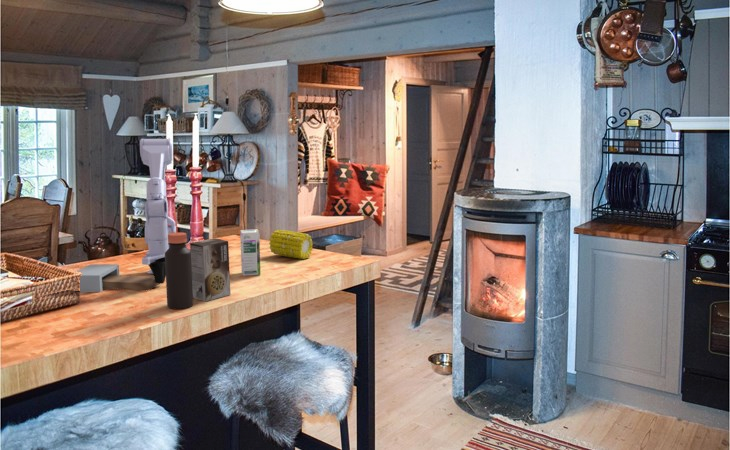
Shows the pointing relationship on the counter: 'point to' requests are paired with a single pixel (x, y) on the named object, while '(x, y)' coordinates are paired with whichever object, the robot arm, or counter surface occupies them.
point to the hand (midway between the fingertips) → (160, 282)
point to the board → (129, 282)
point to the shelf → (96, 276)
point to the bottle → (178, 272)
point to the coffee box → (210, 269)
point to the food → (291, 244)
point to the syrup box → (250, 252)
